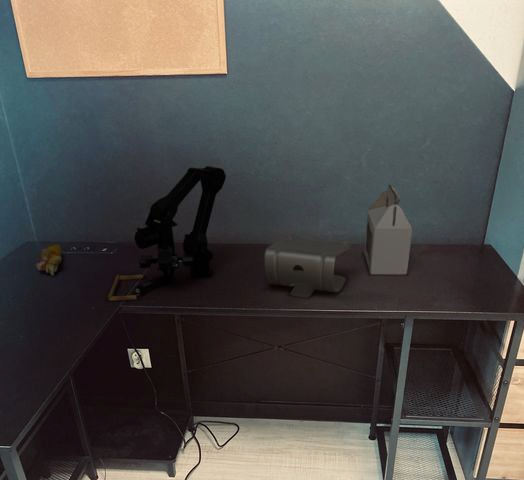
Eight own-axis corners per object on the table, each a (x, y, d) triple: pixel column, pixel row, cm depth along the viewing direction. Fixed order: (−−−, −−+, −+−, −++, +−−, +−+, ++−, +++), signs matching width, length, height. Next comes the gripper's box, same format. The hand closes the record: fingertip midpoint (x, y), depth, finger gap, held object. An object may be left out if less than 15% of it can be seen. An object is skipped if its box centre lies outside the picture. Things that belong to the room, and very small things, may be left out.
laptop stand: (262, 293, 183) (261, 250, 175) (283, 268, 202) (283, 228, 194) (334, 303, 175) (337, 259, 167) (350, 276, 194) (352, 235, 186)
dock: (143, 277, 197) (142, 273, 196) (136, 299, 181) (135, 295, 180) (117, 278, 197) (116, 275, 196) (108, 300, 181) (107, 296, 180)
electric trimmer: (173, 281, 194) (172, 273, 192) (140, 296, 183) (139, 287, 182) (166, 279, 196) (165, 271, 194) (133, 293, 185) (132, 285, 184)
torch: (62, 263, 222) (53, 278, 199) (43, 255, 219) (32, 271, 196) (69, 244, 219) (60, 258, 197) (49, 237, 217) (38, 250, 194)
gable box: (406, 275, 194) (416, 198, 179) (370, 274, 195) (377, 198, 180) (397, 253, 213) (405, 182, 198) (364, 253, 214) (370, 182, 199)
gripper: (134, 250, 173) (141, 293, 181) (191, 247, 174) (195, 291, 182) (138, 239, 183) (144, 280, 191) (193, 236, 184) (196, 278, 192)
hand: (170, 283), depth 189 cm, fingers closed
